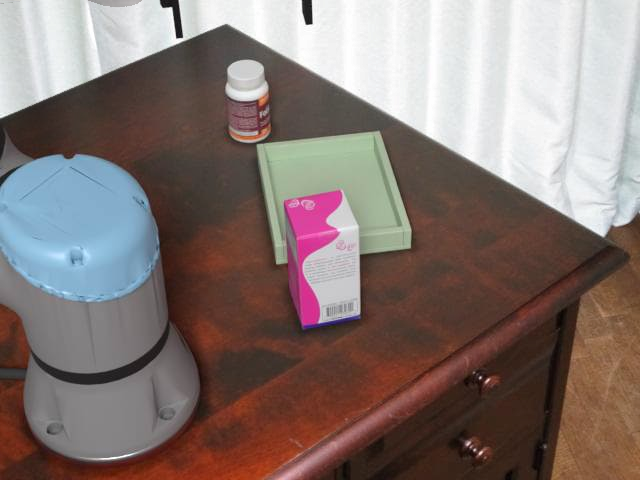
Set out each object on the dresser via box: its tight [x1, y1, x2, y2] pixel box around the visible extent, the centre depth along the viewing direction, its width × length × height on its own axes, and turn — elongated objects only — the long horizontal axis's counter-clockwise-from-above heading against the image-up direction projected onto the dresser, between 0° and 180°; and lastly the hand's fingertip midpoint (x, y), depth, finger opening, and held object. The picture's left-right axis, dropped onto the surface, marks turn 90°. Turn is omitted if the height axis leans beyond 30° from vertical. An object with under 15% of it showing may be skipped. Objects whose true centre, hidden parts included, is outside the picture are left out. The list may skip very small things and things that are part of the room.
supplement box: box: [284, 190, 362, 330], centre depth 106 cm, size 6×6×12 cm
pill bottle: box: [224, 59, 272, 144], centre depth 127 cm, size 5×5×8 cm
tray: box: [255, 130, 413, 265], centre depth 120 cm, size 14×17×2 cm
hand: (243, 25), depth 121 cm, fingers open, 13 cm apart
